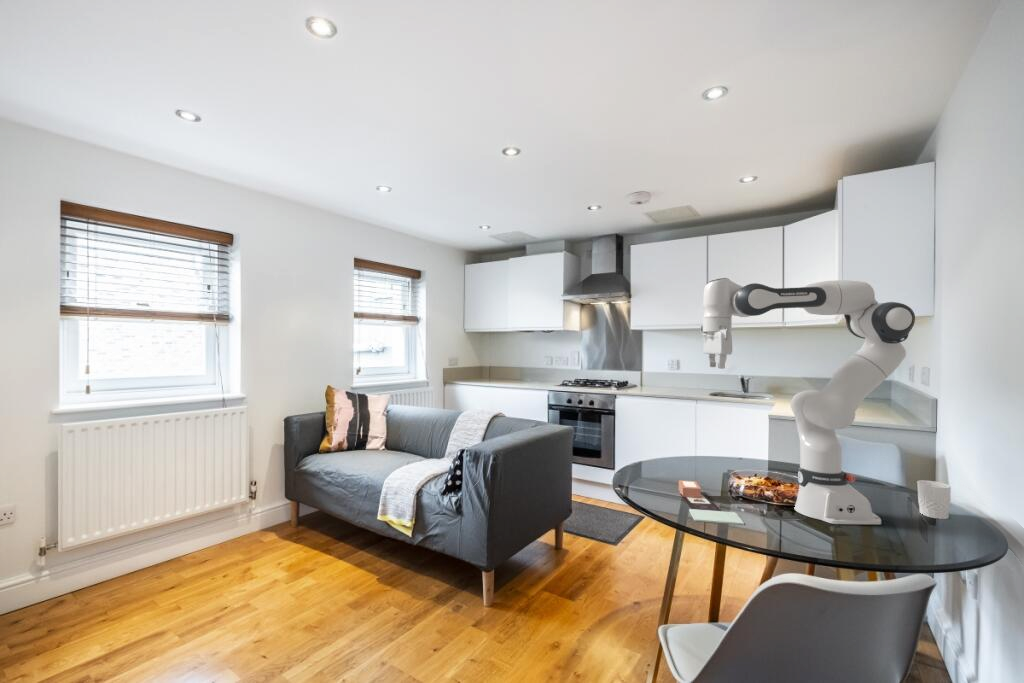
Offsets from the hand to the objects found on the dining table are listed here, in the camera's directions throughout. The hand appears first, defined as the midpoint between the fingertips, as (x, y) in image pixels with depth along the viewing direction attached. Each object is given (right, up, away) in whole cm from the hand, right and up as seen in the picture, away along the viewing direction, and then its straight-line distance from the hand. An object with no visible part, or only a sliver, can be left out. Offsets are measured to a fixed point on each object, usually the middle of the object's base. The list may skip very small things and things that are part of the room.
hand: (716, 367), depth 153 cm
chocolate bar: (-5, -47, 0) cm, 47 cm away
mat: (-5, -46, -11) cm, 48 cm away
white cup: (+66, -47, -8) cm, 81 cm away
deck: (-5, -47, +10) cm, 48 cm away
